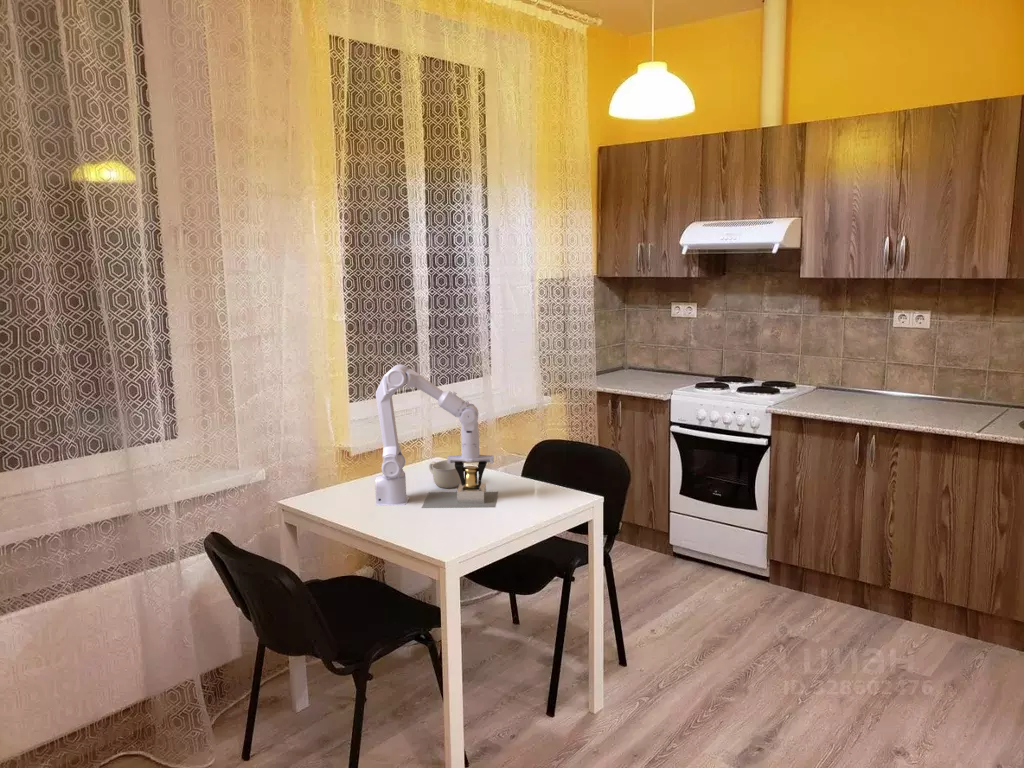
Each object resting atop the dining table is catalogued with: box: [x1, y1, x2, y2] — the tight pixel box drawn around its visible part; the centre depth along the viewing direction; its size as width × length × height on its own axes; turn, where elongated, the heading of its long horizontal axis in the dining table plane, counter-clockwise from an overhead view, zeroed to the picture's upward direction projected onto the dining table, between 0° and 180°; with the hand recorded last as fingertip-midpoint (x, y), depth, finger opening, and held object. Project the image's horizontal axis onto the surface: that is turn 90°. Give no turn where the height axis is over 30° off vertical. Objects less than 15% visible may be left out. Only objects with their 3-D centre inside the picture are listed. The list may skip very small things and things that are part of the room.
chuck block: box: [456, 482, 487, 504], centre depth 244 cm, size 8×8×4 cm
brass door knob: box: [463, 465, 478, 490], centre depth 243 cm, size 5×5×8 cm
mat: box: [421, 491, 499, 509], centre depth 244 cm, size 23×16×1 cm
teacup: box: [428, 459, 461, 489], centre depth 261 cm, size 14×11×8 cm
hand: (471, 484), depth 243 cm, fingers closed on brass door knob, 5 cm apart
